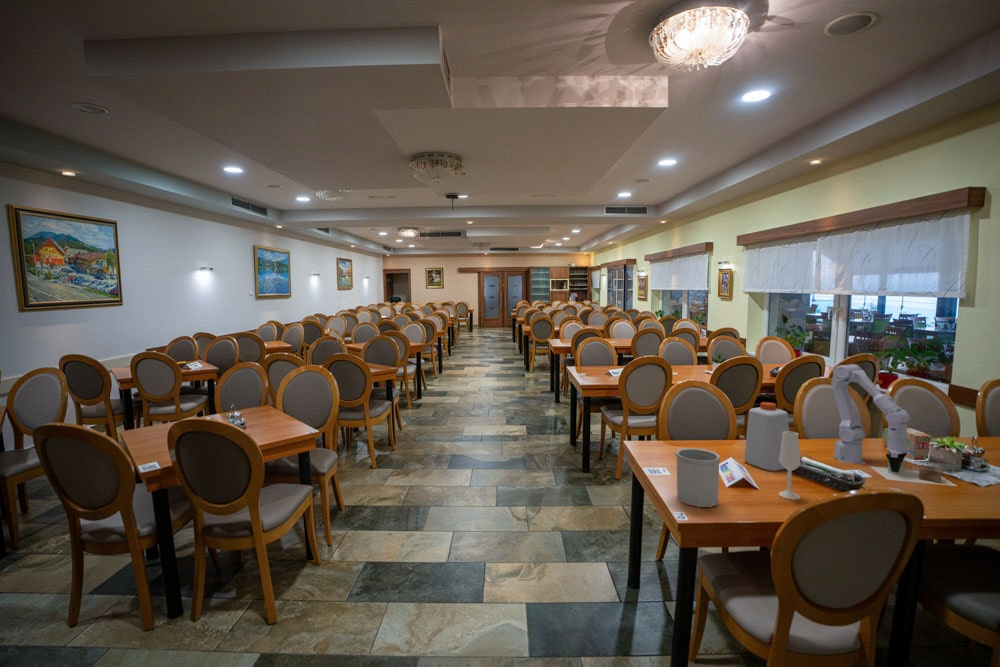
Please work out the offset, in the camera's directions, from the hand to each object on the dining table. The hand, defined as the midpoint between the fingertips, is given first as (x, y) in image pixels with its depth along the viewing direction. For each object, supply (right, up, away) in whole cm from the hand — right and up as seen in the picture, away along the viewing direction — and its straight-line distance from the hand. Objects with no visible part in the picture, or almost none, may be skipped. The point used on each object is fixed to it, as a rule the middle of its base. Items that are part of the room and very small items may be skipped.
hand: (895, 470), depth 180 cm
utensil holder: (-93, -5, -21) cm, 96 cm away
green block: (0, -1, 0) cm, 1 cm away
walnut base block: (+7, -1, -8) cm, 10 cm away
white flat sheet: (+3, -2, -4) cm, 5 cm away
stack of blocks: (+26, 0, +23) cm, 35 cm away
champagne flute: (-58, -4, -19) cm, 61 cm away
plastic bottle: (-47, -2, +12) cm, 48 cm away
